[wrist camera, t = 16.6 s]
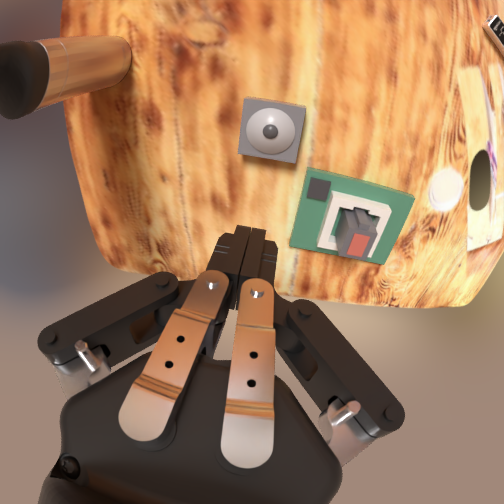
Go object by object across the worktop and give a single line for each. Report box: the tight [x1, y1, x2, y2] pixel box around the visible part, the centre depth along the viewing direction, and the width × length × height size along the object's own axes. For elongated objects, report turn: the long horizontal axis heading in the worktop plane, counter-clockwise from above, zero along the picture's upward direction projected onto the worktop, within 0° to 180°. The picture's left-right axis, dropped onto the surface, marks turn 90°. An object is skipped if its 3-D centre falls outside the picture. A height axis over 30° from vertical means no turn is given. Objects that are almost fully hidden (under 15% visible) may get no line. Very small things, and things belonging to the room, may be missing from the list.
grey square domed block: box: [238, 97, 306, 163], centre depth 34 cm, size 8×8×3 cm
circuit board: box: [289, 167, 415, 265], centre depth 41 cm, size 18×14×3 cm
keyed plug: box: [335, 207, 378, 261], centre depth 38 cm, size 4×6×6 cm
